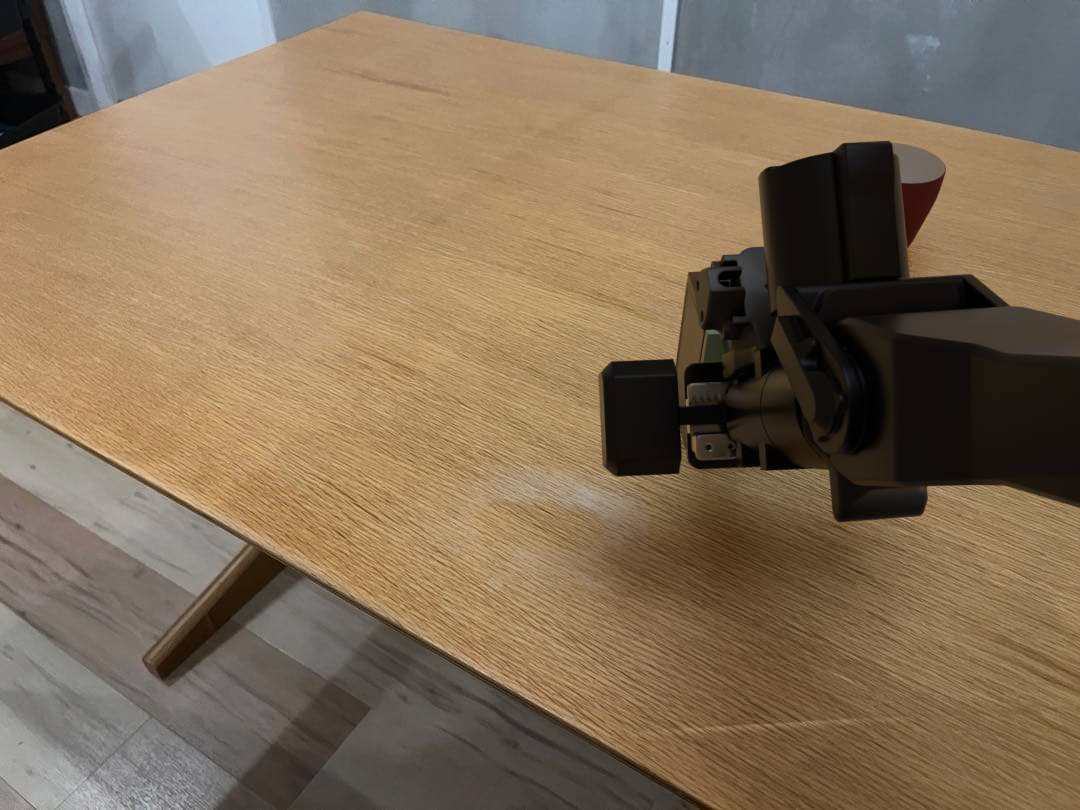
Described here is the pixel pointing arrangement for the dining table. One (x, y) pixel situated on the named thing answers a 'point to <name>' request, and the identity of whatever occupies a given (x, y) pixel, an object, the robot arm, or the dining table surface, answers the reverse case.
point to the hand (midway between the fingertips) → (731, 416)
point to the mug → (918, 184)
